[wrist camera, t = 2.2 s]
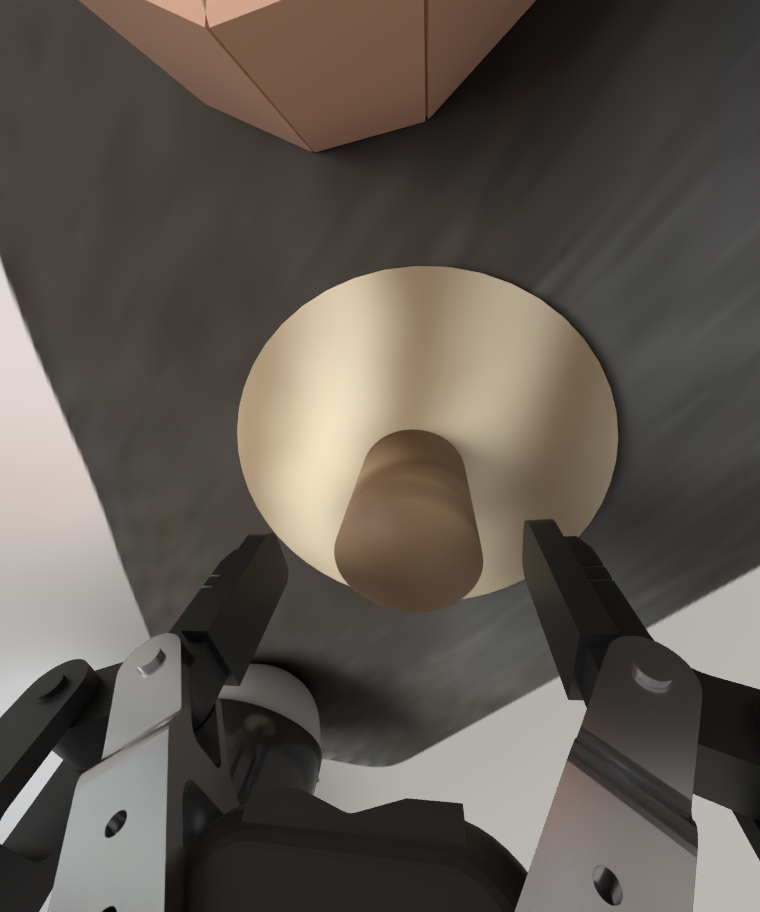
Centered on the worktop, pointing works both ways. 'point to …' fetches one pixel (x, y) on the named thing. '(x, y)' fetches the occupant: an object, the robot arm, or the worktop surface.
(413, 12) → the bowl
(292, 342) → the lid
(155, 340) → the worktop surface
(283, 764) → the pump dispenser
